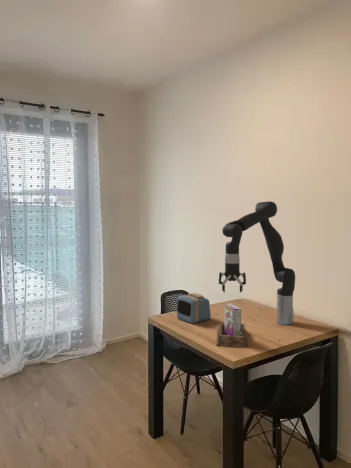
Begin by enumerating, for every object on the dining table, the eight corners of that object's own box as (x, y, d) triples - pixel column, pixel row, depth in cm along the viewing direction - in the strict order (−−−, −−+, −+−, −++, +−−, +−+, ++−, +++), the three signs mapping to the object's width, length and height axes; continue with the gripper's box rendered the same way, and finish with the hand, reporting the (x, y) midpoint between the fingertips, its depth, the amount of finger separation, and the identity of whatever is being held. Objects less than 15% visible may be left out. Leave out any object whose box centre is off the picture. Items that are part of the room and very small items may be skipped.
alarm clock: (175, 318, 246) (175, 293, 244) (195, 313, 256) (195, 289, 254) (191, 324, 233) (191, 298, 231) (212, 319, 243) (212, 294, 241)
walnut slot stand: (245, 331, 221) (245, 323, 220) (248, 346, 197) (248, 338, 197) (217, 330, 223) (217, 322, 222) (216, 345, 199) (216, 337, 198)
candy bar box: (223, 333, 214) (223, 303, 213) (231, 332, 216) (232, 303, 214) (232, 340, 204) (232, 309, 202) (241, 339, 205) (241, 308, 204)
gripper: (245, 260, 209) (245, 290, 210) (218, 260, 211) (218, 290, 212) (246, 263, 202) (246, 294, 203) (218, 262, 203) (218, 293, 205)
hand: (232, 292), depth 208 cm, fingers open, 8 cm apart
